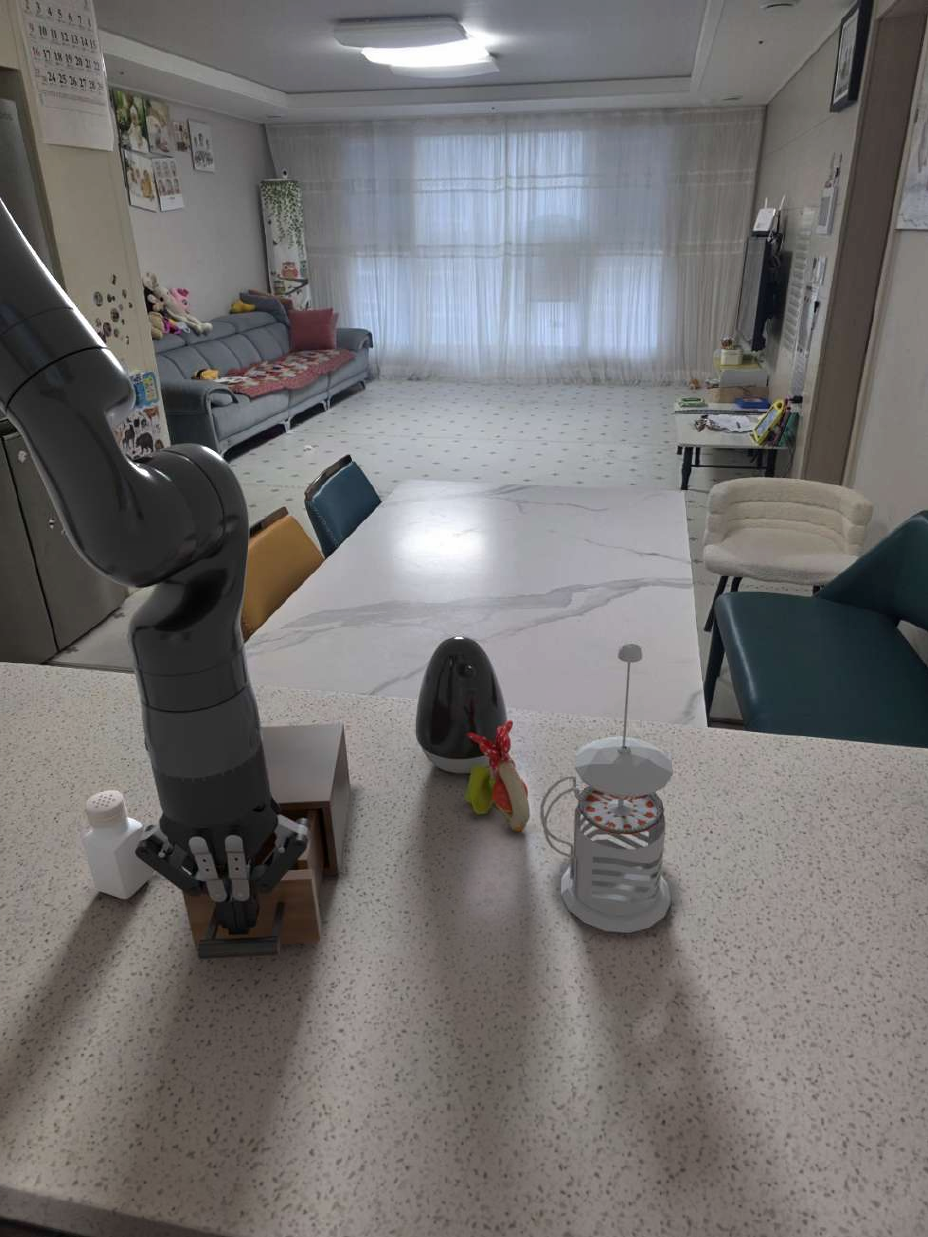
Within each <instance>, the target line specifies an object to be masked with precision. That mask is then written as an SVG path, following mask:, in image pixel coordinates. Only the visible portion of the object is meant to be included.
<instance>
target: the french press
mask: <svg viewBox="0 0 928 1237" xmlns="http://www.w3.org/2000/svg"><path fill="white" fill-rule="evenodd" d="M617 658H618V659H619V660H620V661H622V662H625V663H627V670H626V687H625V701H624V702H625V704H624V705H625V706H624V719H623V734H622V735H619V736H611V737H605V738H599V739H595V740H593V741H591V742H589V743H587V744H585V745H582V746H581V747H580V749H579V750H578V751H577V753H576V754H575V755H574V766H573V767H574V770H575V771H576V773H577V775H578V777H579V778H580V780H581V781H582V783H584V784H585V785H587V786H586V787H584V788H583V790H582V791H581V790H580V789H579V788H578V787H577V778H576V777H575V776H574V775H567V776H565V777H563V778H561V779H559V780H556V781H555V783H553V784H552V785H551V786H550V787H549V788H548V789H547V791H546V793H545V794H544V796H543V798H542V801H541V803H540V813H539V814H540V816H539V818H540V821H541V825H542V827H543V833H544V836H545V837H544V838H545V840H546V842H547V843H548V845H549V846H550V848H551V849H553V850H554V851H556V852H557V853H559V854H560V855H562V856H566V857H568V858H570V860H569V861H570V862H569V866H568V868H567V869H566V871H564V874H563V875H562V877H561V880H560V896H561V898H562V900H563V902H564V904H565V905H566V908H567V909H568V911H569V912H571V914H573V915H574V916H575V917H577V918H578V919H579V920H580V921H581V922H583V923H584V924H586V925H589V926H591V927H594V928H596V929H599V930H602V931H604V932H612V933H613V932H614V933H623V934H625V933H626V934H630V933H635V932H638V931H643V930H645V929H649V928H651V927H653V926H654V925H655V924H657V923H658V922H660V921H661V920H662V919H664V918H665V916H666V914H667V912H668V909H669V907H670V905H671V903H672V899H671V892H670V885H669V884H668V883H667V881H666V880H665V879H664V877H663V875H662V867H663V857H664V847H665V837H666V827H667V822H666V817H665V815H664V813H665V811H664V804H663V803H664V802H663V800H662V799H661V798H660V797H659V796H658V794H657V793H656V792H658V791H660V790H661V789H664V788H665V787H666V786H667V785H668V783H669V781H670V780H671V778H672V776H673V774H674V768H673V763H672V760H671V758H669V756H668V755H667V754H666V753H665V752H664V751H663V750H661V749H659V747H656V746H654V745H653V744H651V743H649V742H647V741H644V740H641V739H637V738H632V737H627V723H628V722H627V720H628V708H629V707H628V706H629V705H628V703H629V689H630V673H631V663H632V664H633V663H638V662H640V661H642V659H643V650H642V647H641V646H640V645H639V644H636V643H635V642H633V641H629V642H624V643H622V644H621V645H620V646H619V647H618V650H617ZM569 779H571V780H572V787H570V788H569V789H566V790H565V791H562V792H560V793H559V794H558V795H557V796H556V797H555V798H554V799H553V800H552V801H551V803H550V804H549V805H548V807H547V809H546V812H545V809H544V807H545V806H546V805H545V804H546V801H547V799H548V797H549V795H550V794H551V793H552V791H553V790H554V789H555V788H556V787H557V786H559V784H561V783H563V782H565V781H567V780H569ZM571 792H573V794H574V797H575V799H576V800H577V801H578V802H577V806H576V807H575V809H574V819H573V820H574V822H573V843H571V842H569V841H567V840H565V839H562V838H559V837H557V836H555V835H554V834H553V833H552V832H550V829H549V828H548V817H549V815H550V812H551V810H552V808H553V806H554V805H555V804H556V803H557V802H558V801H559V800H560V799H561V798H562V797H563V796H564V795H566V794H569V793H571ZM581 816H583V817H582V818H581ZM585 822H587V823H586V824H585V825H584V823H585ZM583 825H584V826H583ZM582 826H583V827H582ZM581 827H582V829H581ZM593 827H595V829H594V830H592V831H590V832H589V833H587V834H586V835H585V833H586V831H588V830H590V829H591V828H593ZM644 832H648V836H647V835H645V834H643V833H644ZM600 835H601V836H603V835H604V836H605V835H608V836H611V837H613V838H615V839H617V840H618V841H621V842H623V843H624V844H626V845H628V846H630V847H633V849H630V848H627V847H625V846H623V845H621V844H619V843H616V842H614V841H612V840H610V839H608V838H603V839H594V840H592V838H594V837H595V836H600ZM625 835H630V836H632V837H634V838H636V839H639V840H640V841H643V842H645V843H646V844H647V845H642V844H640V843H638V842H636V841H635V840H633V839H631V838H629V837H627V836H625ZM550 838H551V839H553V840H554V841H556V842H559V843H561V844H564V845H567V846H569V847H570V853H567V852H565V851H562V850H560V849H559V848H557V847H556V846H555V845H554V844H553V843H552V840H550Z"/></svg>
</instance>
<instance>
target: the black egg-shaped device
mask: <svg viewBox="0 0 928 1237" xmlns="http://www.w3.org/2000/svg"><path fill="white" fill-rule="evenodd" d="M416 707H417V708H416V713H415V737H416V741H417V743H418V745H419V746H420V747H421V750H422V752H423V753H424V755H425V756H426V758H427V760H429V762H431V763H432V764H433V765H434V766H436V767H437V768H439V769H441V770H443V771H444V772H449V773H453V774H471V770H472V768H473V767H475V766H483V767H486V768H487V767H489V758H490V757H488V756H486V755H485V754H484V753H483V752H482V751H481V750H480V744H479V743H477V742H475V741H474V740H472V739H470V738H469V737H468V733H474V734H477V735H480V736H483V737H486V738H487V739H488V740H489V741H491V742H492V743H494V744H495V741H494V737H495V733H496V730H497V728H498V727H499V726H503V725H504V724H505V723H506V722H507V721H509V719H508V715H507V714H508V713H507V709H506V704H505V700H504V695H503V692H502V689H501V685H500V682H499V680H498V676H497V674H496V670H495V668H494V666H493V663H492V662H491V659H490V658H489V656H488V655H487V653H486V651H485V650H484V649H483V647H482V646H481V644H479V643H478V642H477V641H476V640H474V639H472V638H470V637H468V636H463V635H456V636H452V637H448V638H447V639H445V640H443V641H442V642H440V644H438V645H437V647H436V649H435V650H434V651H433V653H432V655H431V656H430V659H429V660H428V663H427V665H426V668H425V671H424V674H423V678H422V682H421V686H420V690H419V694H418V700H417V705H416Z"/></svg>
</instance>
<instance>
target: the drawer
mask: <svg viewBox="0 0 928 1237" xmlns="http://www.w3.org/2000/svg"><path fill="white" fill-rule="evenodd" d="M281 815H282V816H284V817H286V818H288V819H290V820H292V821H293V822H296V821H297V820H298V819H301V818H304V819H307V820H309V821H310V823H311V828H310V833H309V838H308V843H307V848H306V850H305V851H304V853H303V854H302V855H301V856H300V857H299V859H298V860H297V861H296V862H295V863H294V865H293V866H292V867H291V868H290V869H289V871H288V872H287V873H286V874H285V875H284V876H283V878H282V879H281V880H280V881H279V882H278V884H277V885H276V886H275V887H274V888H273V890H272V891H271V892H270V893H267V894H263V893H260V892H257V895H258V901H259V906H260V910H259V914H258V918H257V922H256V925H255V927H252V928H251V929H250V932H249V934H248V935H229V933H228V928H227V929H223V928H222V927H221V925H220V924H219V919H218V914H217V910H216V905H215V901H213V900H212V899H211V897H210V895H208V894H204V893H201V894H200V895H199V896H197V897H191V896H189V895H187V894H186V893H185V892H183V891H182V890H181V894H182V897H183V898H182V899H183V901H184V906H185V910H186V914H187V919H188V922H189V927H190V930H191V935H192V939H193V944H194V948H197V958H198V960H200V961H205V960H221V959H222V960H223V959H241V958H243V959H244V958H261V957H262V958H263V957H279V956H280V954H281V949H282V944H290V943H291V944H292V943H293V944H294V943H311V942H312V943H313V942H321V940H322V935H323V934H322V933H323V932H322V931H323V927H322V920H321V914H320V907H319V897H320V890H321V884H322V879H323V875H322V873H323V867H324V861H325V855H326V849H327V843H326V835H325V828H324V820H323V813H322V808H316V809H295V810H281ZM275 840H276V834H275V832H273V833H272V835H271V836H270V837H269V839H268V840H267V841H266V843H265V844H264V845H263V847H262V848H261V849H260V851H259V852H258V853H257V855H256V856H254V857H255V867H257V866H260V865H262V863H263V861H264V860H265V859H266V857H267V856H268V855H269V854H270V852H271V851H272V850H273V849H274V848H275Z"/></svg>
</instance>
